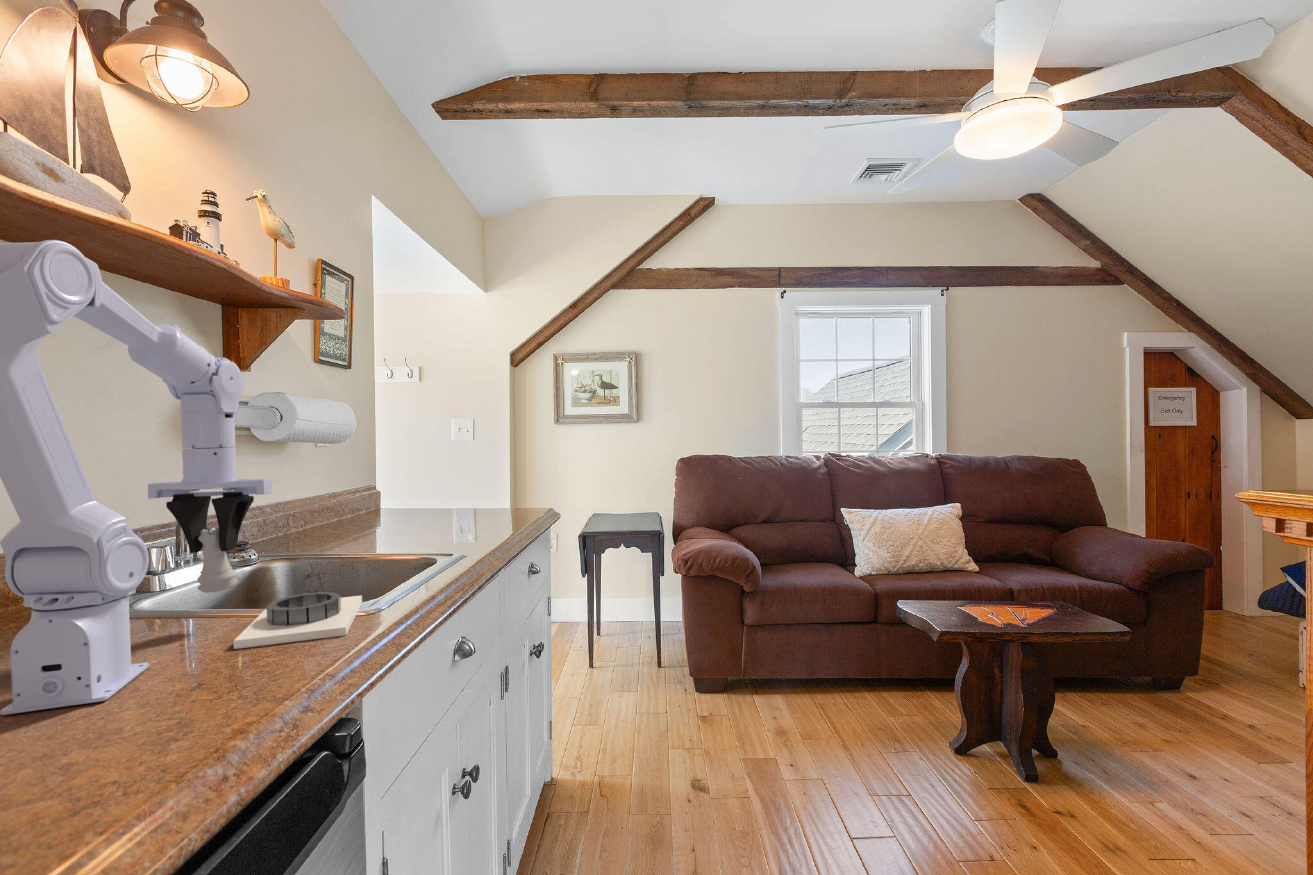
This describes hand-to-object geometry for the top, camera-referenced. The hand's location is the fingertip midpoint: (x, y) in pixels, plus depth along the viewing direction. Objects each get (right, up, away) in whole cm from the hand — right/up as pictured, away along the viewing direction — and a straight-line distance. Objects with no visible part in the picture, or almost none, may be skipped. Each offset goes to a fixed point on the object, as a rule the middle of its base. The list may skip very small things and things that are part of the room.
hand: (213, 550), depth 81 cm
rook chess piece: (0, -5, +1) cm, 5 cm away
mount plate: (+12, -10, +1) cm, 15 cm away
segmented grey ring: (+12, -10, +1) cm, 15 cm away
